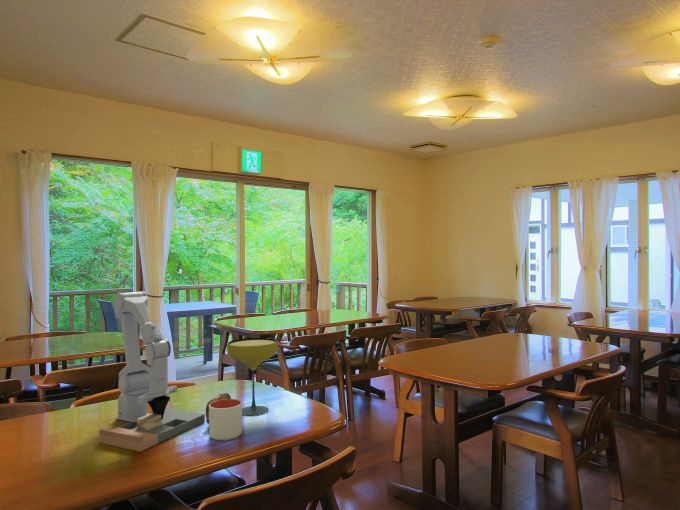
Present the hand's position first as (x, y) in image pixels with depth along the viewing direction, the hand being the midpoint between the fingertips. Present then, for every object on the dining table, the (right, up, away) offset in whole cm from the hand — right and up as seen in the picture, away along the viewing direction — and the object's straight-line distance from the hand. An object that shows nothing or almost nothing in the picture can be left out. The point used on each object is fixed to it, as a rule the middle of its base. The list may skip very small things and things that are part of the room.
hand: (158, 419), depth 152 cm
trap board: (-1, -3, -1) cm, 4 cm away
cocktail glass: (+28, -3, +17) cm, 33 cm away
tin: (+17, -3, +8) cm, 19 cm away
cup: (+23, -3, -6) cm, 24 cm away
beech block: (-1, -1, -4) cm, 4 cm away
